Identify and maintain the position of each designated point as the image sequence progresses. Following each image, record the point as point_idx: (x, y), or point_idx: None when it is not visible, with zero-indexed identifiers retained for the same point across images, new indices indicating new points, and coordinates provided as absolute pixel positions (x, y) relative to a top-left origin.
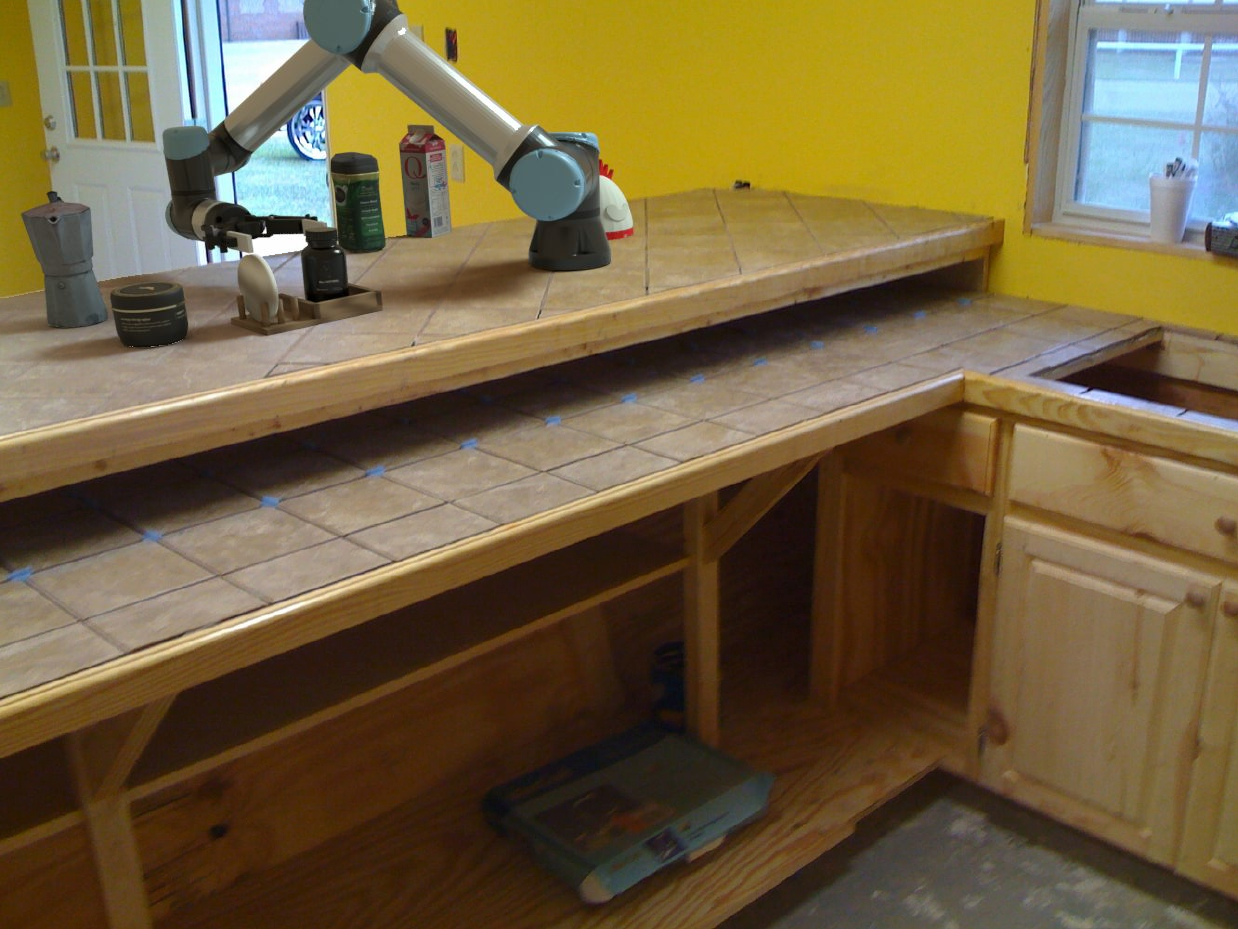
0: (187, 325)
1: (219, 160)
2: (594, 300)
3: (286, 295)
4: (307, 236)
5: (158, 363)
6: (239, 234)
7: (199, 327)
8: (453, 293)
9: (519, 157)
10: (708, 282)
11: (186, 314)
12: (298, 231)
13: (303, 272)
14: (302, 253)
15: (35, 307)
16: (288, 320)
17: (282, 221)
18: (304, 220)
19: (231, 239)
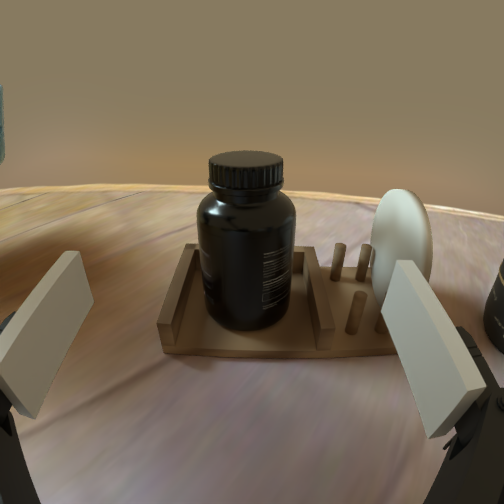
0: (486, 302)
1: None
2: (70, 198)
3: (321, 309)
4: (282, 171)
5: (493, 266)
6: (435, 295)
7: None
8: None
9: None
10: (8, 193)
11: (492, 291)
12: (15, 444)
13: (293, 249)
14: (294, 211)
15: None
16: (346, 282)
17: (5, 493)
18: (11, 349)
19: (459, 329)
